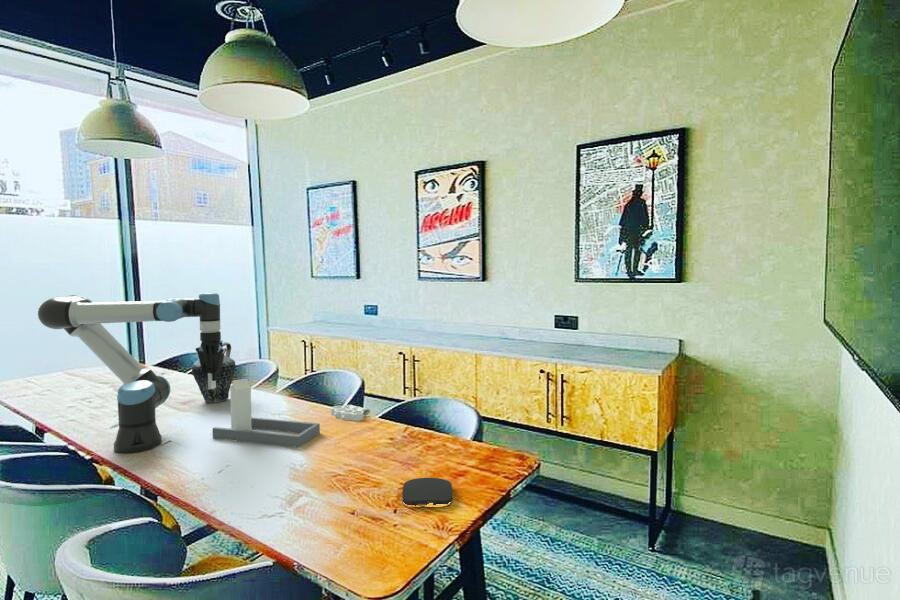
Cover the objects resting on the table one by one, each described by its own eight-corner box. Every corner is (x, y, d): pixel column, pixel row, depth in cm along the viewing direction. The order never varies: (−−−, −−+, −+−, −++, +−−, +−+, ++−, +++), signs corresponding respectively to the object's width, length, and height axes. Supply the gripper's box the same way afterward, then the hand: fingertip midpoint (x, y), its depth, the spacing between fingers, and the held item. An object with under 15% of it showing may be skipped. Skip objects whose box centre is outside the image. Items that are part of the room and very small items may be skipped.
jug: (219, 407, 233) (217, 345, 231) (183, 404, 237) (181, 343, 235) (245, 396, 254) (244, 338, 251) (212, 393, 257) (211, 337, 255)
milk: (251, 433, 198) (251, 379, 197) (236, 436, 194) (235, 382, 193) (246, 429, 203) (245, 377, 201) (230, 432, 199) (230, 379, 197)
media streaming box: (451, 485, 154) (451, 476, 153) (452, 509, 139) (453, 498, 139) (404, 486, 153) (404, 476, 153) (401, 509, 138) (401, 499, 138)
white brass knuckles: (375, 415, 224) (351, 424, 212) (347, 409, 234) (323, 416, 222) (375, 408, 224) (351, 416, 212) (347, 402, 234) (323, 409, 222)
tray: (298, 447, 184) (298, 436, 183) (212, 438, 192) (212, 428, 192) (319, 433, 199) (319, 423, 199) (239, 425, 208) (239, 416, 208)
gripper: (230, 330, 201) (232, 387, 203) (203, 329, 204) (205, 385, 206) (217, 333, 194) (219, 391, 195) (189, 331, 197) (191, 389, 198)
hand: (212, 388), depth 200 cm, fingers closed
